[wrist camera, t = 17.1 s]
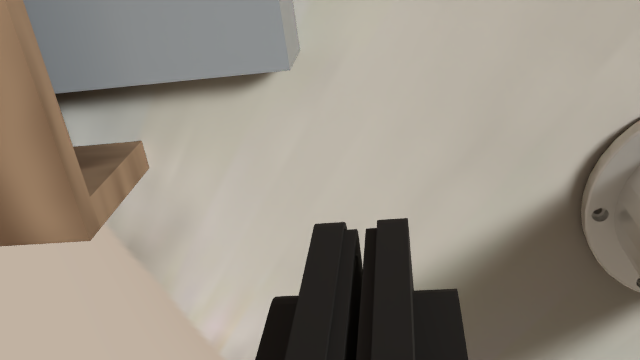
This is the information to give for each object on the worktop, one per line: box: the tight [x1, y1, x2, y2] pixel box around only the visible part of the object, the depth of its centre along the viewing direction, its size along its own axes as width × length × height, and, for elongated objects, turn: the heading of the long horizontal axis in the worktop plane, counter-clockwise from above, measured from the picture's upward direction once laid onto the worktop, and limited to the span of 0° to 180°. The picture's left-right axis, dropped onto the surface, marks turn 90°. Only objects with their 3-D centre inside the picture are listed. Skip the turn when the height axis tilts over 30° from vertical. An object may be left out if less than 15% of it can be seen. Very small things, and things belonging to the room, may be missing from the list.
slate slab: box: [23, 0, 300, 94], centre depth 32 cm, size 16×5×4 cm, turn 98°
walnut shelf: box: [0, 0, 149, 246], centre depth 31 cm, size 8×15×8 cm, turn 8°
